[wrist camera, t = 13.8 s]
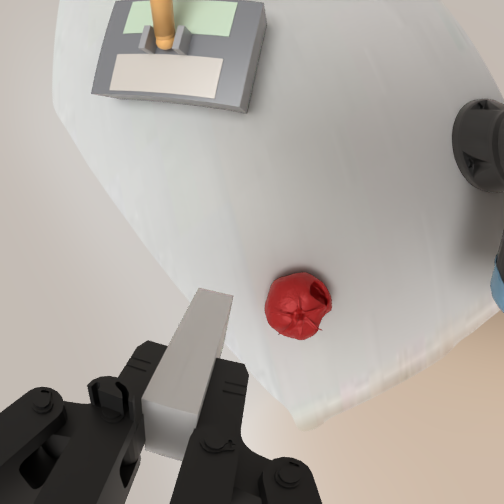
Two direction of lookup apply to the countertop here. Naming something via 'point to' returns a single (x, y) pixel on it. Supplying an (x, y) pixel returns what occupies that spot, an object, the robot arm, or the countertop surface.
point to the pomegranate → (297, 305)
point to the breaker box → (183, 54)
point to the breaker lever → (163, 23)
